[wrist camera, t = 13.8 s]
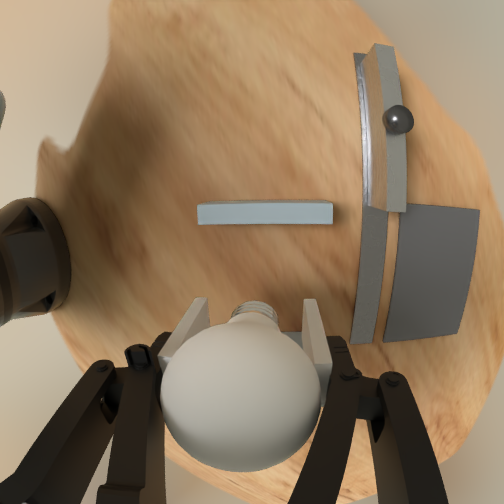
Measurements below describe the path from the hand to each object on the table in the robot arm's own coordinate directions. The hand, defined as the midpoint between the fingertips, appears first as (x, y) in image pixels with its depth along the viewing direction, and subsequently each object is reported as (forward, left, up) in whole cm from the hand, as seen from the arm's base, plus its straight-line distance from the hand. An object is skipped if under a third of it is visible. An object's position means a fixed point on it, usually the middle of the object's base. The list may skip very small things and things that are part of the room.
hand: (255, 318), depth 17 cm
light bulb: (0, 0, -1) cm, 1 cm away
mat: (+17, 0, -8) cm, 19 cm away
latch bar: (+10, +13, -8) cm, 18 cm away
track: (+10, +7, -8) cm, 14 cm away
